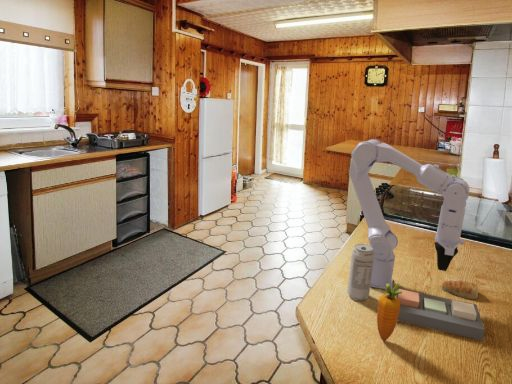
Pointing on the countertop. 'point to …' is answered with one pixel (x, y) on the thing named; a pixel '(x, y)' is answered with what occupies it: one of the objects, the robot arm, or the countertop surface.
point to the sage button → (434, 306)
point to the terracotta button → (409, 298)
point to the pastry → (461, 288)
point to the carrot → (388, 312)
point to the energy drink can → (360, 272)
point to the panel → (441, 318)
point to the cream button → (463, 310)
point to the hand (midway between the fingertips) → (441, 269)
